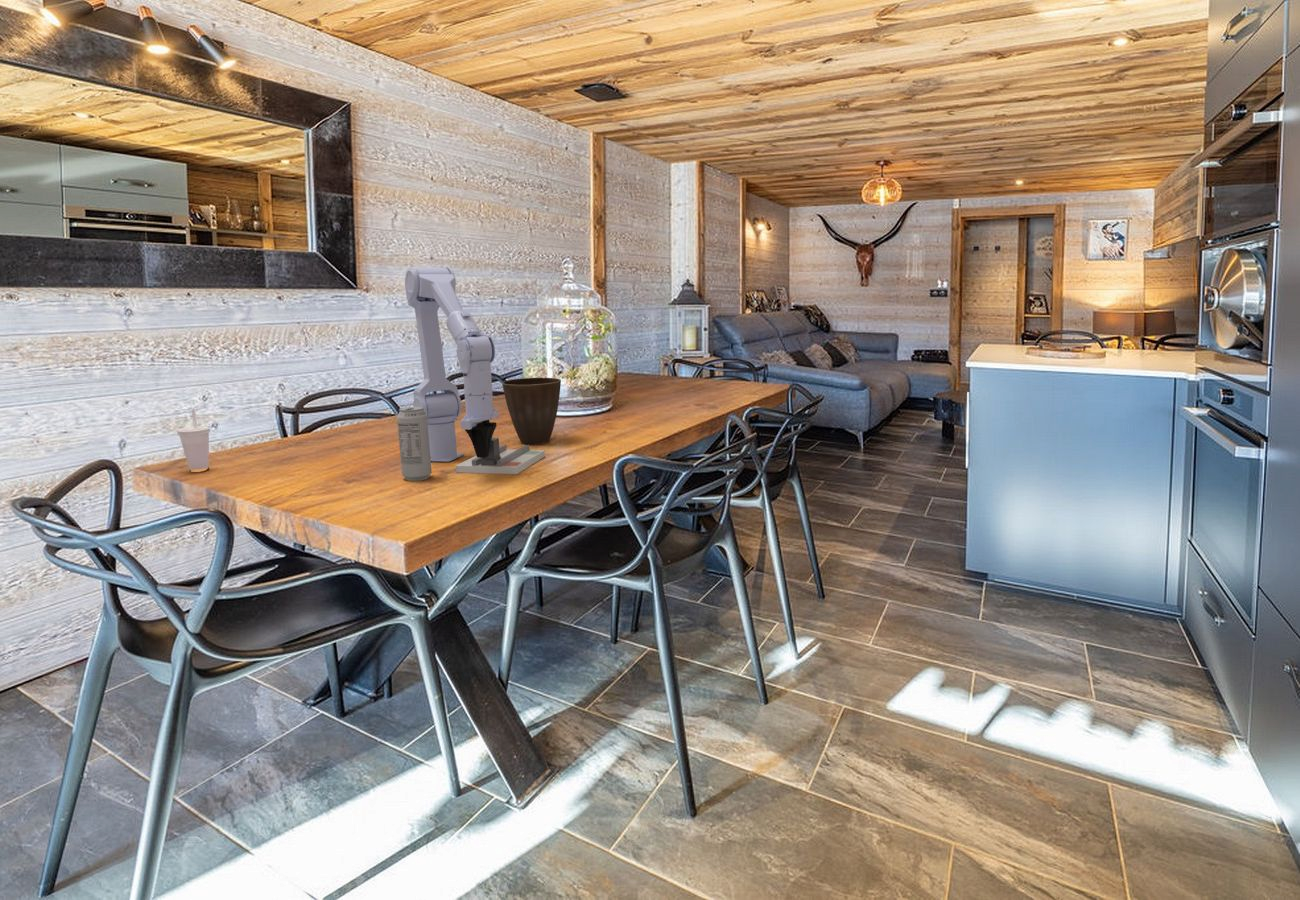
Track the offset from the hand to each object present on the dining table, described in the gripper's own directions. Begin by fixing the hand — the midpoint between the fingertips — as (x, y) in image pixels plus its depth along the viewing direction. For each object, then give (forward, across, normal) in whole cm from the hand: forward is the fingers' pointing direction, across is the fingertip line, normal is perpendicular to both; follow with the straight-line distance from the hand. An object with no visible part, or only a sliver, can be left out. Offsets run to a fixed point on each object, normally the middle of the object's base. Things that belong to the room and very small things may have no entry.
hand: (482, 457), depth 164 cm
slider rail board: (+4, +10, 0) cm, 11 cm away
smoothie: (+4, -5, +67) cm, 67 cm away
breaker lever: (+2, +4, 0) cm, 5 cm away
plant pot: (+4, +36, +2) cm, 36 cm away
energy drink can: (+4, -5, +13) cm, 14 cm away
